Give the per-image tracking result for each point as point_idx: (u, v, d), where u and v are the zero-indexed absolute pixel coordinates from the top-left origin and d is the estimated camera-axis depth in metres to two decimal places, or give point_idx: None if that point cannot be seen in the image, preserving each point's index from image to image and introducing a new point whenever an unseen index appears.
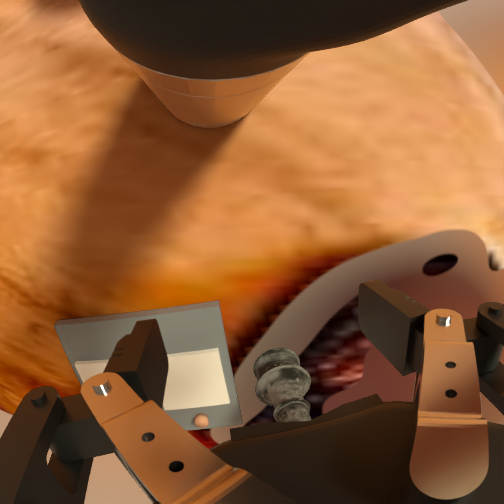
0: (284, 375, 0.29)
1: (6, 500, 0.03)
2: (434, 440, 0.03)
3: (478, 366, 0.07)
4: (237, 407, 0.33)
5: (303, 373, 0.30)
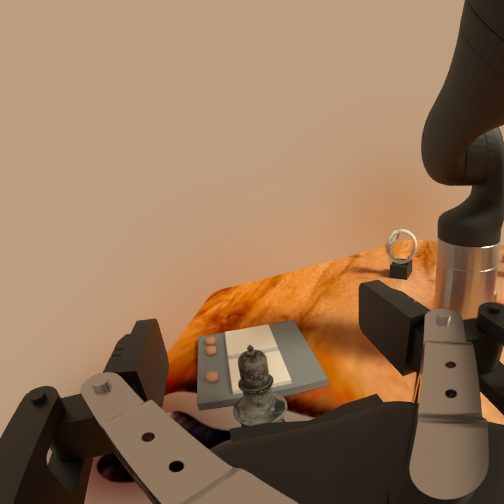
0: (278, 401, 0.31)
1: (6, 500, 0.03)
2: (434, 440, 0.03)
3: (478, 366, 0.07)
4: (221, 399, 0.36)
5: (276, 417, 0.29)
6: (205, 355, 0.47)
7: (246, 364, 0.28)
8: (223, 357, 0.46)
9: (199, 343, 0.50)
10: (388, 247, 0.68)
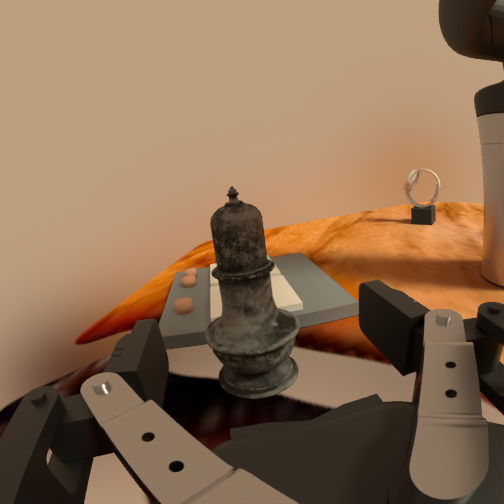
0: (283, 315, 0.19)
1: (6, 500, 0.03)
2: (434, 440, 0.03)
3: (478, 366, 0.07)
4: (193, 331, 0.24)
5: (281, 338, 0.17)
6: (180, 287, 0.35)
7: (225, 216, 0.16)
8: (204, 288, 0.34)
9: (175, 277, 0.38)
10: (408, 188, 0.56)
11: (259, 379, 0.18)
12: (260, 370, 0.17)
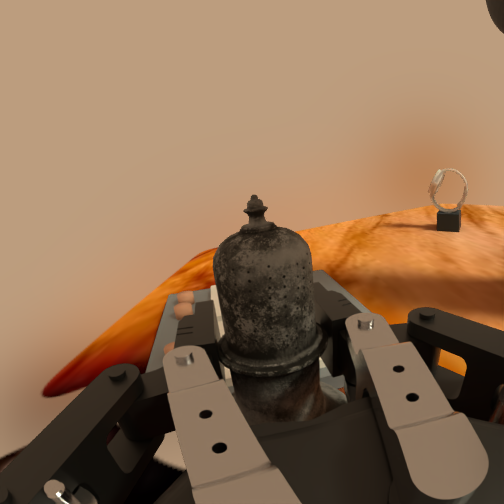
0: (332, 402, 0.11)
1: (47, 470, 0.04)
2: (434, 440, 0.03)
3: None
4: None
5: None
6: (173, 319, 0.27)
7: (243, 256, 0.08)
8: None
9: (168, 303, 0.30)
10: (433, 190, 0.48)
11: None
12: None
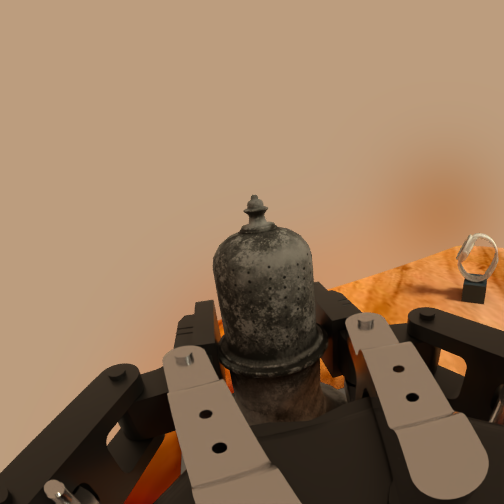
0: (332, 402, 0.11)
1: (47, 469, 0.04)
2: (434, 440, 0.03)
3: None
4: None
5: None
6: None
7: (243, 257, 0.08)
8: None
9: None
10: (462, 259, 0.43)
11: None
12: None
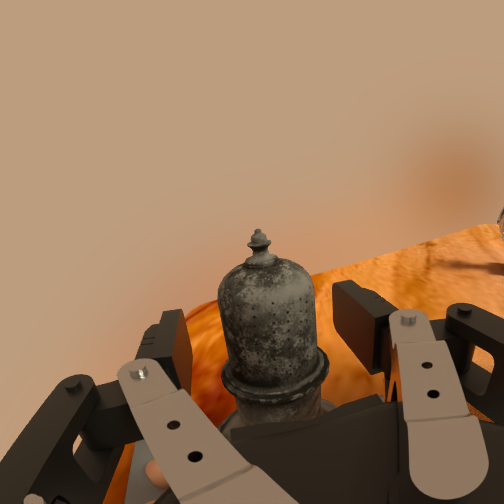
0: None
1: (23, 485, 0.03)
2: (434, 440, 0.03)
3: None
4: None
5: None
6: None
7: (248, 293, 0.08)
8: None
9: (133, 469, 0.13)
10: None
11: None
12: None
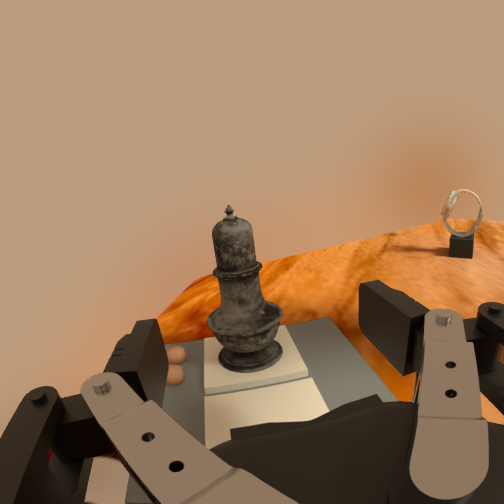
0: (270, 305, 0.24)
1: (6, 500, 0.03)
2: (434, 440, 0.03)
3: (478, 366, 0.07)
4: None
5: (267, 323, 0.22)
6: None
7: (223, 228, 0.21)
8: (196, 390, 0.21)
9: None
10: (446, 213, 0.44)
11: (251, 358, 0.23)
12: (251, 349, 0.22)
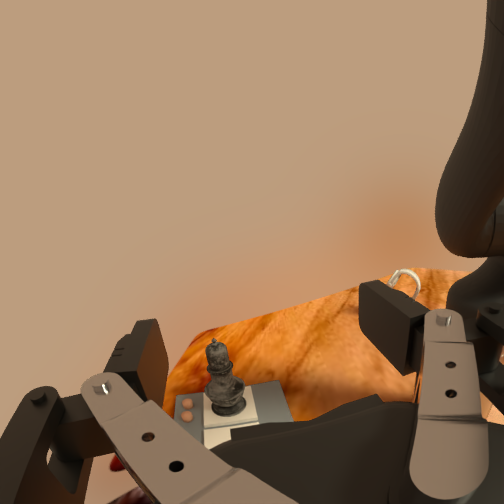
0: (238, 383, 0.41)
1: (6, 500, 0.03)
2: (434, 440, 0.03)
3: (478, 366, 0.07)
4: None
5: (235, 394, 0.39)
6: (181, 421, 0.40)
7: (211, 352, 0.38)
8: (199, 425, 0.39)
9: (176, 404, 0.44)
10: None
11: (228, 408, 0.41)
12: (227, 406, 0.40)
